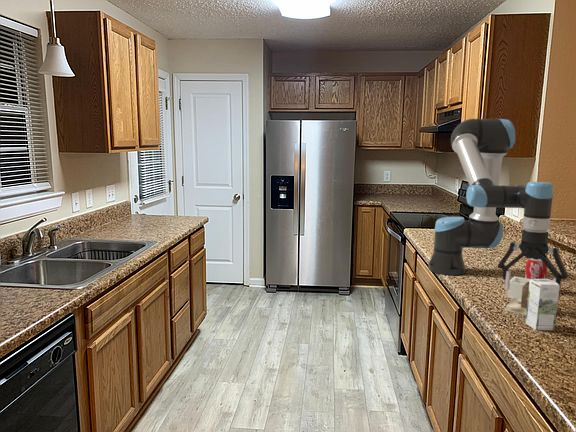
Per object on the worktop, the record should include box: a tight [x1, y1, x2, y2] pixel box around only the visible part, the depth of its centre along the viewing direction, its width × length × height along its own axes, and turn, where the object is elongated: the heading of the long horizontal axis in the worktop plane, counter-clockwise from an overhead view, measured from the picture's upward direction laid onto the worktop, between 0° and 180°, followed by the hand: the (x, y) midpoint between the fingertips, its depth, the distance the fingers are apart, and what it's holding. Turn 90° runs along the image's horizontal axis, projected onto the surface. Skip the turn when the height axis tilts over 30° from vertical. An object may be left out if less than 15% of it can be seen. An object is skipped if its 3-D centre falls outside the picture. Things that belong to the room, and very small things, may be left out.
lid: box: [505, 282, 530, 315], centre depth 147 cm, size 11×11×8 cm
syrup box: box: [524, 278, 561, 331], centre depth 132 cm, size 6×6×14 cm
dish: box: [506, 276, 530, 299], centre depth 160 cm, size 9×9×6 cm
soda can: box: [524, 258, 548, 279], centre depth 169 cm, size 7×7×12 cm
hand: (529, 293), depth 147 cm, fingers open, 13 cm apart
